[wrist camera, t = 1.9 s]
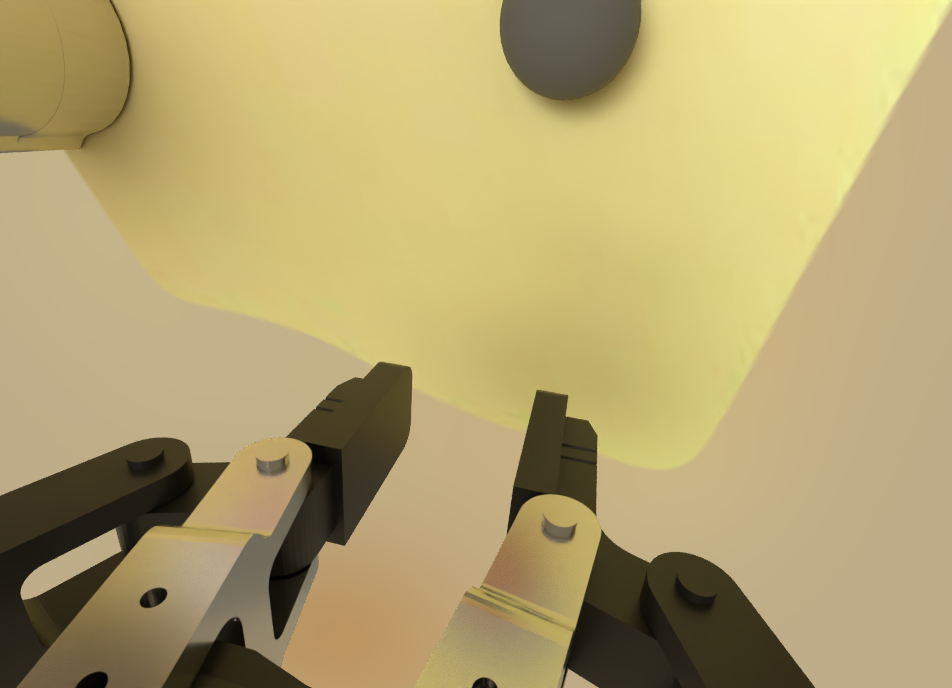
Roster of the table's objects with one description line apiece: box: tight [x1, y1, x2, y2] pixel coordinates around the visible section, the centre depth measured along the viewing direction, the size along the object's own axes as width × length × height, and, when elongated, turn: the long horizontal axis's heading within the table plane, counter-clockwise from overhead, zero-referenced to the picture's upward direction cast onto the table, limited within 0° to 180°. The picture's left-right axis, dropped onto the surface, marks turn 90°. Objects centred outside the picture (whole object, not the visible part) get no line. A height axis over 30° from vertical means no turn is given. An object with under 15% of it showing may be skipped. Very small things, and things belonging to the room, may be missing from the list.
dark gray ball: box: [500, 0, 641, 100], centre depth 21 cm, size 6×6×6 cm
